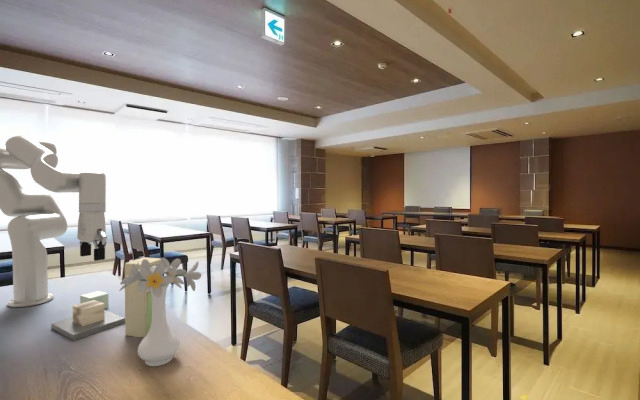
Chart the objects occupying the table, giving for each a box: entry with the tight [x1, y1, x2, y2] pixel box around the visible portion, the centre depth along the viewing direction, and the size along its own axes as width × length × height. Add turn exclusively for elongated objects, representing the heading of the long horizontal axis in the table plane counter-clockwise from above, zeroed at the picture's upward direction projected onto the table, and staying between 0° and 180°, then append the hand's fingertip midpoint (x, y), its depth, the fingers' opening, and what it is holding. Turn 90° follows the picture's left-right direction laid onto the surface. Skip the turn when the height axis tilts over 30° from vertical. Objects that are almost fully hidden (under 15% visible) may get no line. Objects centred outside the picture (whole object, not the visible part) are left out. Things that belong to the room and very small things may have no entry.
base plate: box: [50, 309, 125, 341], centre depth 102 cm, size 14×14×2 cm
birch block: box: [72, 300, 105, 326], centre depth 102 cm, size 6×6×5 cm
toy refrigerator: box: [124, 256, 164, 338], centre depth 98 cm, size 8×7×21 cm
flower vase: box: [118, 257, 202, 367], centre depth 83 cm, size 13×18×25 cm
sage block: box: [79, 290, 109, 309], centre depth 116 cm, size 6×6×5 cm
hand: (92, 257), depth 115 cm, fingers open, 9 cm apart
